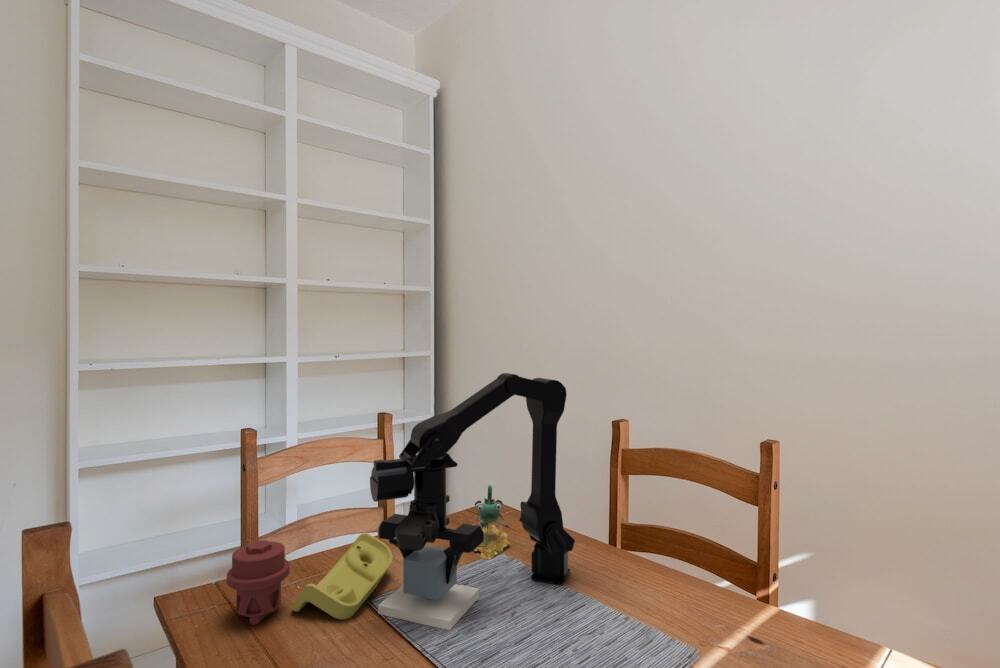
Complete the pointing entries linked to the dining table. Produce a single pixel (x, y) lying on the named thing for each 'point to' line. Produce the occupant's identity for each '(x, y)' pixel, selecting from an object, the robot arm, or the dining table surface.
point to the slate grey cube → (427, 573)
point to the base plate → (430, 606)
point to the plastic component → (349, 579)
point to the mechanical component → (258, 578)
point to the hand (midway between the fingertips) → (430, 579)
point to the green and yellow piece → (491, 527)
